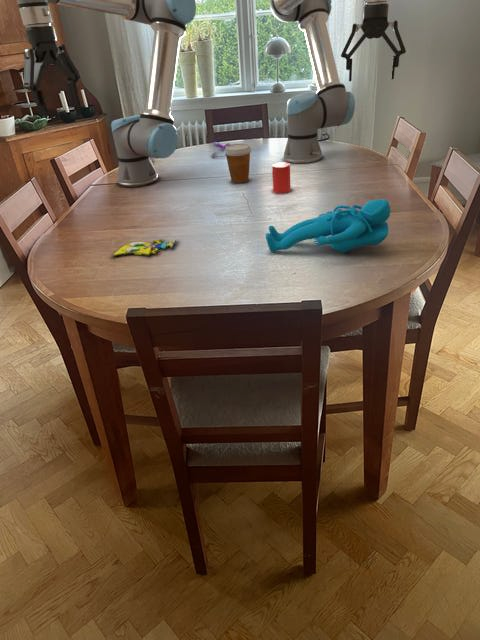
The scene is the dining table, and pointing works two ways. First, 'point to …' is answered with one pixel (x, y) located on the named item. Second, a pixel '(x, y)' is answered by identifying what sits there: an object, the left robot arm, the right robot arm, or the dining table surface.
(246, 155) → the disposable coffee cup
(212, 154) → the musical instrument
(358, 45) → the right robot arm
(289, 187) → the can
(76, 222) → the dining table surface
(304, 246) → the dining table surface
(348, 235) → the toy
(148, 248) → the toy
